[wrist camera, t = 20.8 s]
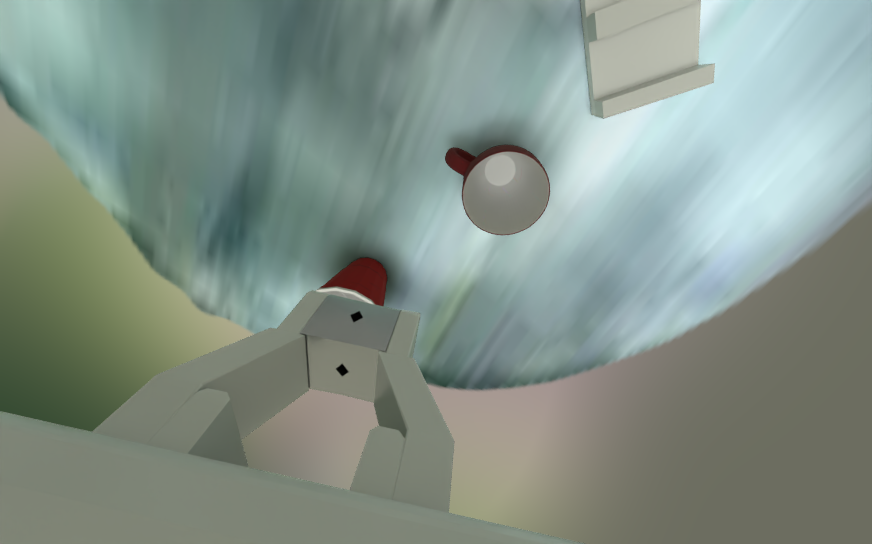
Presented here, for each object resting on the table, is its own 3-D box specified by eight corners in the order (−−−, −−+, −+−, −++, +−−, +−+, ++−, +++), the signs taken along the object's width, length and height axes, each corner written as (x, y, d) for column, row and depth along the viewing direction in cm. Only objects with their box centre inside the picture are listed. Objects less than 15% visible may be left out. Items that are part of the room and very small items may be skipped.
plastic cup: (390, 313, 52) (368, 370, 41) (327, 285, 50) (288, 338, 40) (416, 262, 46) (397, 313, 36) (346, 229, 45) (306, 273, 34)
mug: (438, 184, 40) (426, 212, 31) (459, 116, 36) (452, 127, 27) (517, 211, 40) (526, 246, 32) (547, 146, 36) (567, 167, 28)
